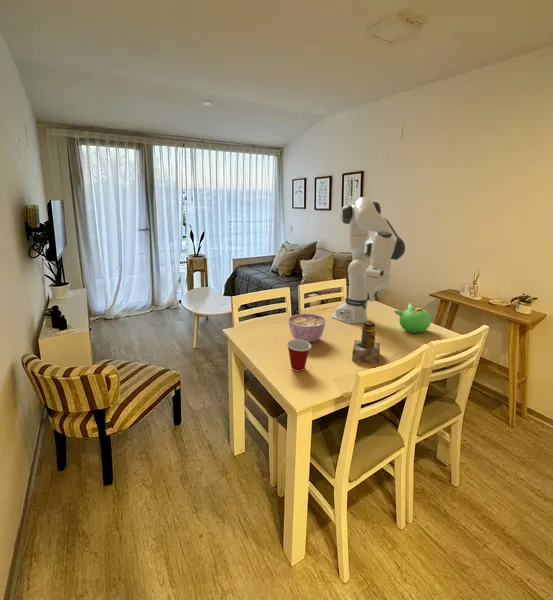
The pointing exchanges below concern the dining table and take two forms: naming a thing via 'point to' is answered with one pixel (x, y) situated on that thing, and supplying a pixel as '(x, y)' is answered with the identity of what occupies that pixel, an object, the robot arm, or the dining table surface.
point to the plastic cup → (298, 353)
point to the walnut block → (366, 354)
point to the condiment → (367, 336)
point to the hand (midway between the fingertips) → (375, 298)
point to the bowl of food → (307, 326)
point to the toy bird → (414, 319)
